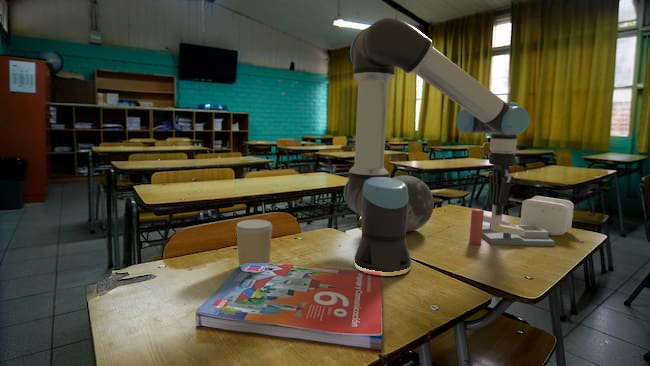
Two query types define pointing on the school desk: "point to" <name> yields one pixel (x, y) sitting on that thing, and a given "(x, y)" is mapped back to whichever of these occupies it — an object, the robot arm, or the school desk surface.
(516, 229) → the block
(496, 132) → the robot arm
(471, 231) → the red capsule
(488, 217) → the block
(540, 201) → the cable organizer
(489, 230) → the panel
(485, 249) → the school desk surface
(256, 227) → the coffee cup
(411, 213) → the moon model
